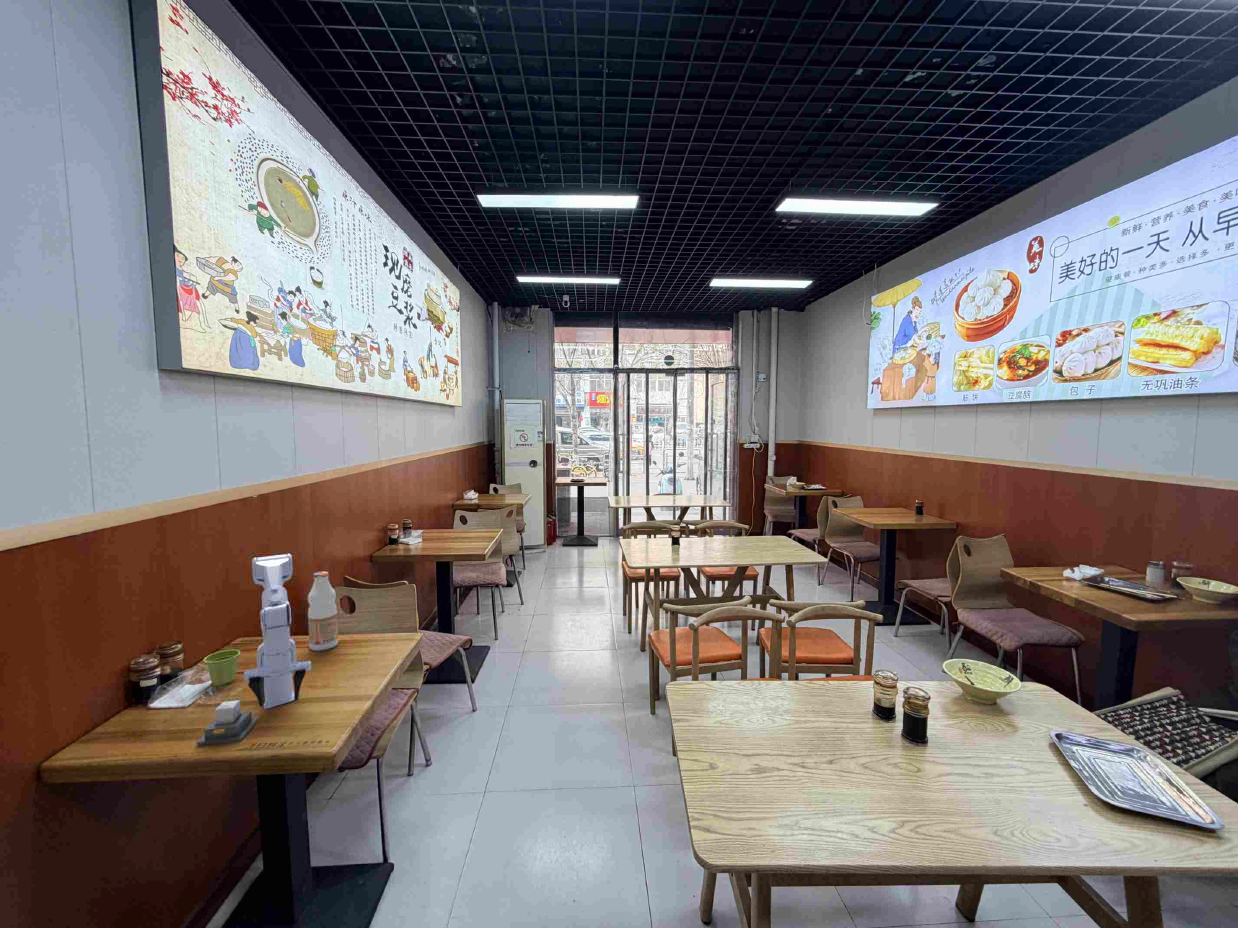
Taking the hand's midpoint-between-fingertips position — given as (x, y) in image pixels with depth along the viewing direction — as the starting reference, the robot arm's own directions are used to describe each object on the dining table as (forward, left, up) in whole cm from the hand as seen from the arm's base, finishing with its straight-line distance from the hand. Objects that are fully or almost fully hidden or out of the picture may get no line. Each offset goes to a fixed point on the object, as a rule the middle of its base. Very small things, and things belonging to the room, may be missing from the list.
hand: (279, 701), depth 135 cm
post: (-13, -10, -9) cm, 18 cm away
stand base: (-13, -10, -10) cm, 19 cm away
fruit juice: (-59, +23, -10) cm, 64 cm away
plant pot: (-50, -8, -10) cm, 51 cm away
